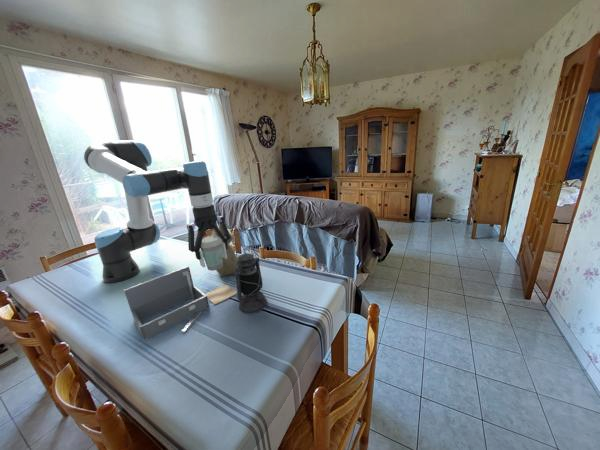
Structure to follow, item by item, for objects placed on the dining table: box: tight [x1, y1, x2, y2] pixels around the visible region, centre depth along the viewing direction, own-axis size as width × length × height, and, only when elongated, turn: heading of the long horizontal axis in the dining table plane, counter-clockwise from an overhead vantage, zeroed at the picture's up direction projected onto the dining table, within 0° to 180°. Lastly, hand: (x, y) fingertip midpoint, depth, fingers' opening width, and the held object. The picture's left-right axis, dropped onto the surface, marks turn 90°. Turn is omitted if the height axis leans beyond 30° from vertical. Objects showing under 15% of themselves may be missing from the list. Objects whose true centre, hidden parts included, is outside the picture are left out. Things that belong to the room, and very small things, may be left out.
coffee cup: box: [200, 235, 223, 272], centre depth 95 cm, size 8×8×12 cm
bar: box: [180, 311, 202, 334], centre depth 86 cm, size 10×1×1 cm, turn 171°
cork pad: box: [204, 284, 238, 306], centre depth 101 cm, size 10×10×1 cm
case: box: [123, 265, 210, 341], centre depth 89 cm, size 15×22×13 cm, turn 134°
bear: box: [210, 222, 240, 277], centre depth 116 cm, size 21×16×25 cm
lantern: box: [233, 229, 268, 315], centre depth 88 cm, size 12×11×30 cm
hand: (214, 261), depth 96 cm, fingers closed on coffee cup, 8 cm apart
